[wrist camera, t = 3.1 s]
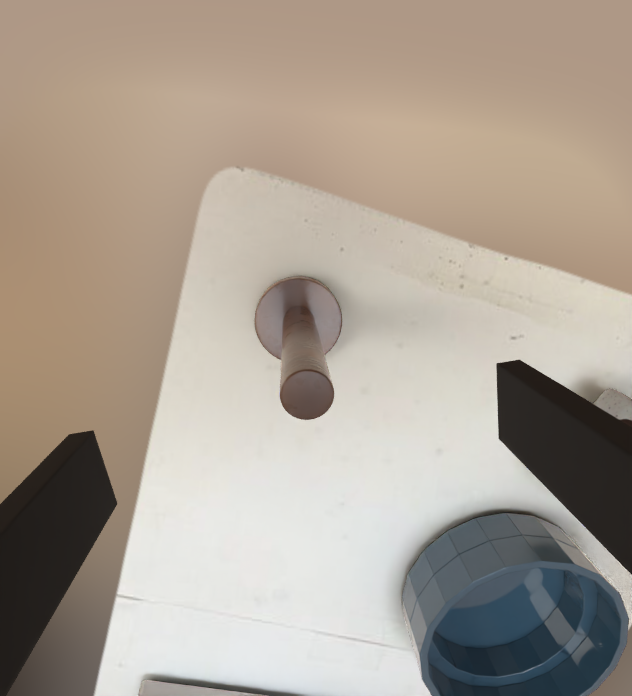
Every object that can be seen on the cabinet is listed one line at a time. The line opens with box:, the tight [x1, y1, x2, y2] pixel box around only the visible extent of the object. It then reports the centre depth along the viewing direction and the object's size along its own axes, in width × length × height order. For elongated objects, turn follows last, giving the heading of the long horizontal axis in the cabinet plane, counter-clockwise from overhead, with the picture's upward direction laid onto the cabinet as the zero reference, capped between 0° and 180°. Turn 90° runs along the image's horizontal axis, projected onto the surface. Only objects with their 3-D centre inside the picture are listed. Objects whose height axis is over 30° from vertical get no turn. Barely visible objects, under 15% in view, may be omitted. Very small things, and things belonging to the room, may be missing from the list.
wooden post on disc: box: [255, 276, 342, 420], centre depth 25 cm, size 6×6×14 cm
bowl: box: [402, 513, 629, 696], centre depth 37 cm, size 16×16×6 cm
